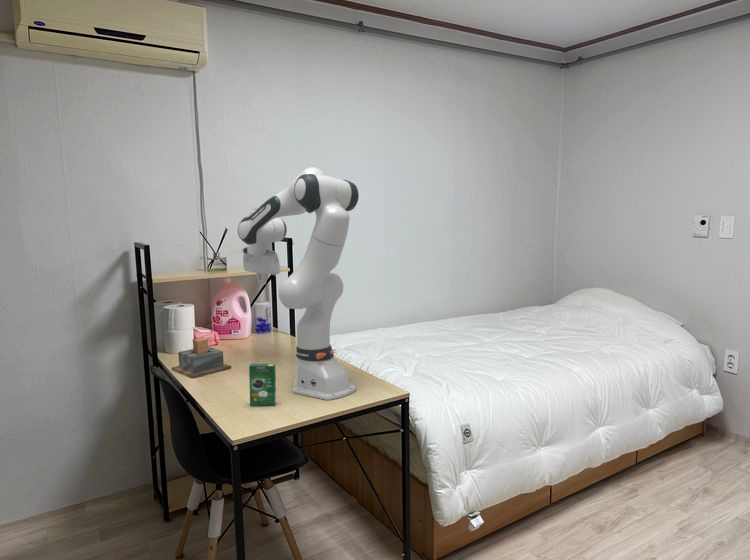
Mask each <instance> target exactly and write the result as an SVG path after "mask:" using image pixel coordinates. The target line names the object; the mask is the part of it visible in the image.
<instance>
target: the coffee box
mask: <svg viewBox="0 0 750 560" xmlns="http://www.w3.org/2000/svg"><path fill="white" fill-rule="evenodd" d="M248 368H249V369H248V370H249V371H248V373H249V374H248V375H249V376H248V377H249V379H248V381H249V405H250V406H251V407H252V406H255V407H259V406H276V403H277V386H276V385H277V384H276V383H277V382H276V381H277V380H276V379H277V378H276V374H277V373H276V363H250V364H249V367H248Z"/></svg>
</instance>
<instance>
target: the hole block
mask: <svg viewBox="0 0 750 560" xmlns="http://www.w3.org/2000/svg"><path fill="white" fill-rule="evenodd" d="M177 354H178V365H176V366H171V370H172V371H174V372H176V373H178V374H180V375H184V376H185V375H186V376H185V377H187V376H188V378H190V379H192V378H193V379H197V378H200V377H204V376H208V374H209V375H212V374H215V373H220V372H224V371H227V370H230V369H229V368H231V369H232V365H229V364H227V363H224V362H225V361H224V351H223V350H221V349H217V348H214V347H211V346H209V345H208V352H207V353H202V354H198V355H197V354H194V353H193V348H191V349H186V350H183V351H178V353H177ZM226 369H227V370H226ZM223 370H224V371H223Z"/></svg>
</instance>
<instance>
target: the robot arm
mask: <svg viewBox="0 0 750 560" xmlns="http://www.w3.org/2000/svg"><path fill="white" fill-rule="evenodd" d="M359 194H360V193H359V190H358V187H357V185H356V184H355V183H353V182H352V181H349V180H346V179H340V178H337V177H333V176H330V175H326V174H325V172H323V170H321V169H319V168H318V167H313V166H312V167H307V168H306V169H304V170H303V171H301V172H300V173H299V174H297V176H295V177H294V178H293V180H291V182H290V183H289V184H288V185H287V186H286V187H285V188H284V189H282V190H281V191H279V192H278V193H277V194H275V195H273V196H272V197H270V198H268V199H267V200H266V201H265V202H263V203H262V204H261V205H260V206H259V207H257V208H254V209H251V210H250V211H249V214H248V216H246V217H243V218H242V219H241V220H240V221H239V223H238V226H237V236H238V237H239V239H240V240H241V241H242V242H243V243H244V244H246V245H247V246H245V247H243V248H242V249H241V251H242V254H243V256H242V264H243V270H244V272H248V273H249V272H250V273H255V276H256V278H257V282H258V285H266V284H267V279H268V276H269V275H272V276H274V275H279V274H280V272H281V266H280V265H281V264H280V258H279V256H278V254H277V252H276V251H275V250H273V243H278V242H282V241H283V240H284V239H285V238H286V235H287V225H286V222H285V221H284V219H282V217H288V216H289V217H290V216H298V215H302V214H305V213H306V212H307V213H308V214H312V213H313V212H314V213H315V216H316V217H315V219H316V220H315V224H314V226H313V229H312V232H311V234H310V235H311V236H310V239H309V242H308V245H307V247H306V250H305V253H304V254H303V257H302V259H301V261H299V264H298V265H297V267H296V268H295V270H294V271H293V272H292V273H291V274H290V275H289V276H288V277H287V278H286V279H285V280H283V281H282V282H281V283H280V285H279V287H278V299H279V301H280V303H281V304H282V305H283V306H284V307H285V308H287V309H293V310H302V309H305V312H304V314H303V316H302V317H301V318H300V319H299V320H298V322H297V325H296V336H297V337H296V341H297V344H296V347H295V349H296V350H295V353H296V358H297V361H296V366H295V369H294V370H295V374H294V385H293V388H292V393H294V394H299V395H302V396H306V397H311V398H316V399H322V400H325V401H326V400H327V401H328V400H329V401H330V400H336V399H340V398H344V397H345V396H348V395H350V394H352V393H355V392H356V391H357V386H356V385H354V384H352V383H350V378H349V374H348V371H347V370H346V368H345V367H343V366H342V365H341V363H339V361H338V360H337V359H336V357H335V355H334V354H336V349H333V348H332V345H331V344H330V343H331V341H330V340H331V339H330V337H331V336H330V335H331V333H330V332H331V331H330V328H331V319H332V315H333V311H334V308H335V305H336V304H337V302H338V300H339V299H340V298H341V296H342V294H343V293H344V283H343V280H342V278H341V277H340V276H339V274H336V273H334V272H332V271H333V270H334V269H335V268H336V267H337V266H338V264H339V262H340V259H341V255H342V253H343V249H344V246H345V243H346V240H347V236H348V232H349V227H350V215H349V212H350V211H352V210H354V209H355V208H356V206H357V204H358V202H359V198H360V197H359Z"/></svg>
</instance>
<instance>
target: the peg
mask: <svg viewBox="0 0 750 560" xmlns="http://www.w3.org/2000/svg"><path fill="white" fill-rule="evenodd" d="M208 346H209V339H208V338H207V337H196V338H192V349H193V353H194V354H197V355H198V354H202V353H207V352H208Z"/></svg>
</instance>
